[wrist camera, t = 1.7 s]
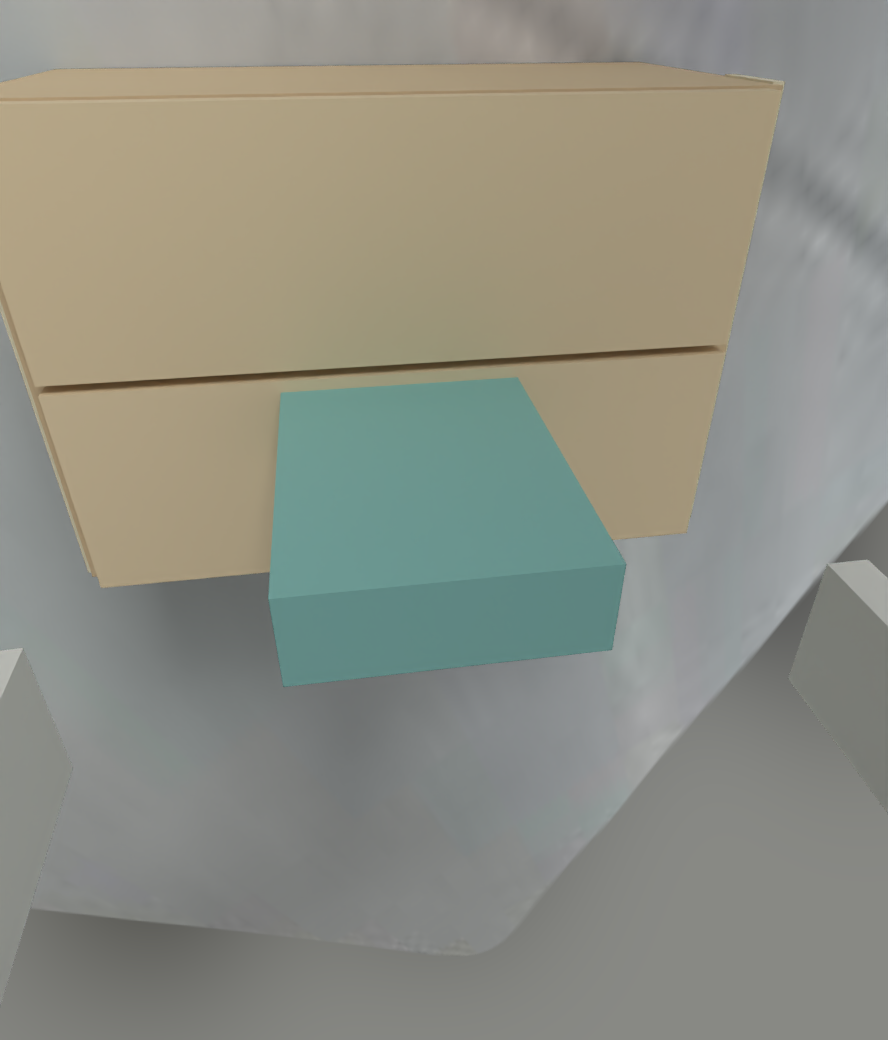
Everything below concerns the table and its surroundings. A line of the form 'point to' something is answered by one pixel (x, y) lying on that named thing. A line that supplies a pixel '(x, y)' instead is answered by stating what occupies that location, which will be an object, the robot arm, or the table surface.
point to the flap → (396, 496)
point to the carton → (369, 216)
